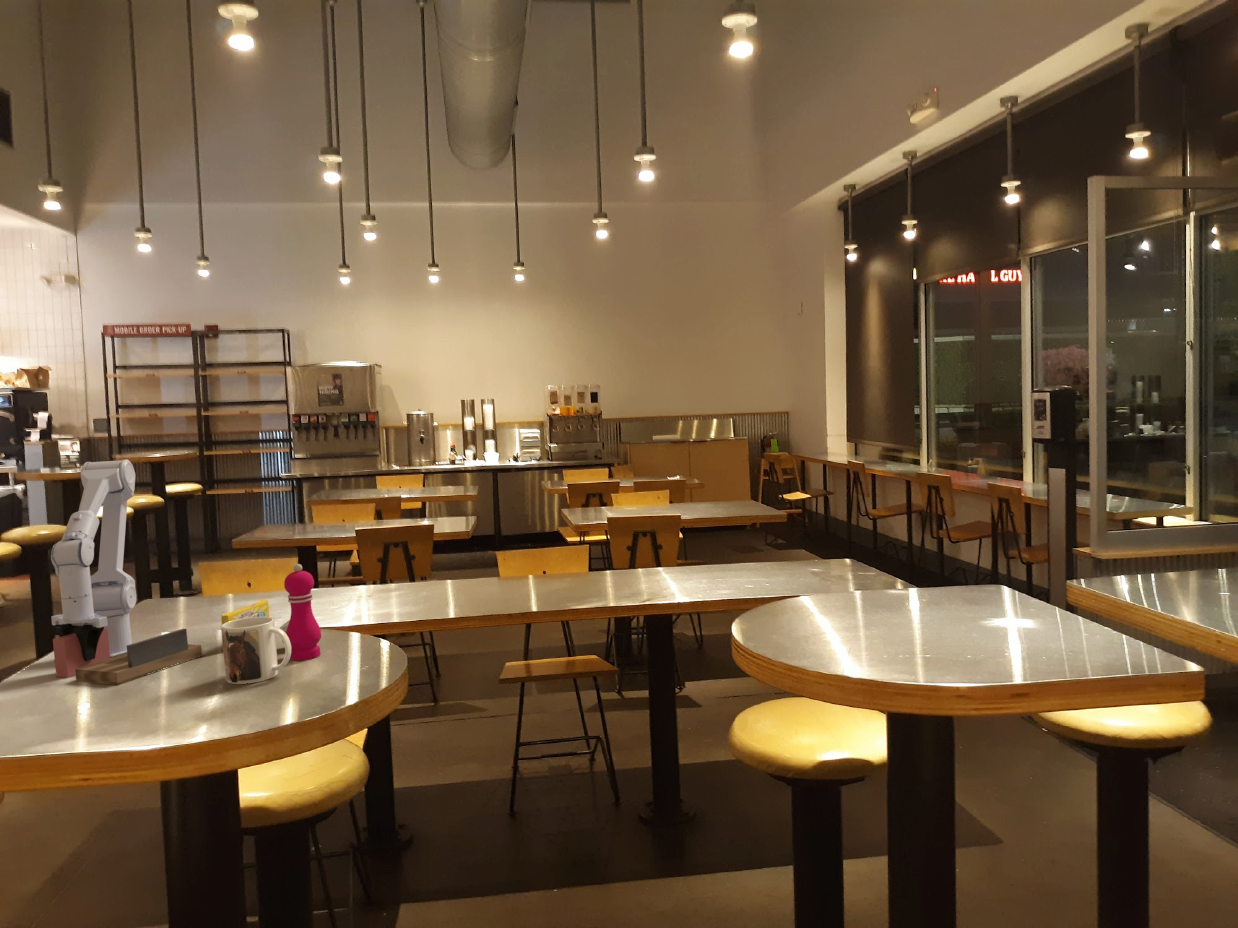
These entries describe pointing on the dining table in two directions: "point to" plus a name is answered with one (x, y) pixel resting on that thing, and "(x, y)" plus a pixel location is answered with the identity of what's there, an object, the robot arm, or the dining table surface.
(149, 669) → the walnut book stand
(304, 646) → the pepper mill
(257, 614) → the candy box
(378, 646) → the dining table surface
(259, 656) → the mug
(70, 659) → the pink rectangular block
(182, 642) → the dark gray flat bar
